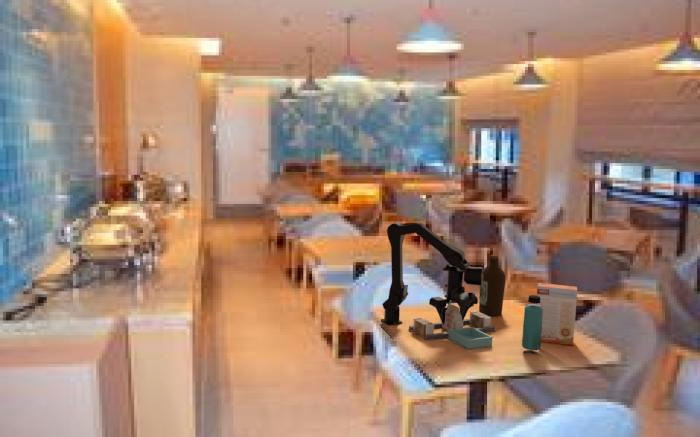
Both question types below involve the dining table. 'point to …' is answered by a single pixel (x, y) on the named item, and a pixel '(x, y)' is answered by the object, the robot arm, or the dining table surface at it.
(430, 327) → the clip holder
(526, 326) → the beverage bottle
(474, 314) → the walnut block
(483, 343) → the teal tray
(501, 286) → the olive oil
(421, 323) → the walnut block
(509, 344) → the dining table surface
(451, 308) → the tea bag
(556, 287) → the cracker box
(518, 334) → the dining table surface
